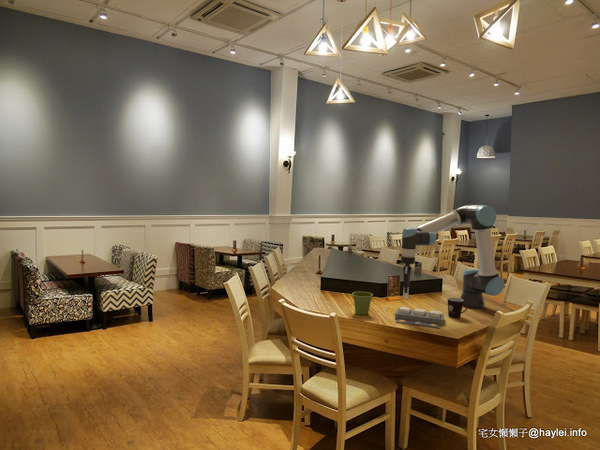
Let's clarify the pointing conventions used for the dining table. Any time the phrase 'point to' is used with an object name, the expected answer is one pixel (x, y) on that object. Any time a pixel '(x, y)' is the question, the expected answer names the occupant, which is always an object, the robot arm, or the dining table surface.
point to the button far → (405, 310)
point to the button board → (419, 317)
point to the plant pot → (362, 302)
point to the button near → (435, 314)
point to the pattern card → (418, 323)
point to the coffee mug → (455, 307)
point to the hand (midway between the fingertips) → (405, 298)
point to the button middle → (419, 312)
